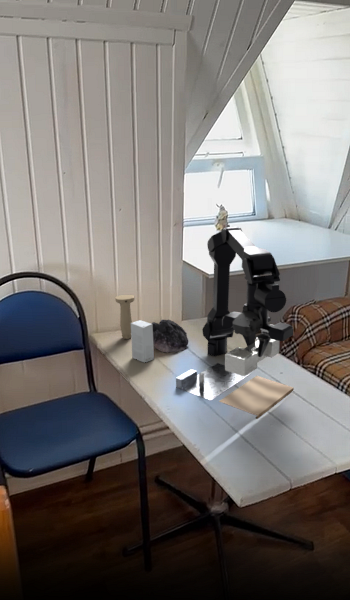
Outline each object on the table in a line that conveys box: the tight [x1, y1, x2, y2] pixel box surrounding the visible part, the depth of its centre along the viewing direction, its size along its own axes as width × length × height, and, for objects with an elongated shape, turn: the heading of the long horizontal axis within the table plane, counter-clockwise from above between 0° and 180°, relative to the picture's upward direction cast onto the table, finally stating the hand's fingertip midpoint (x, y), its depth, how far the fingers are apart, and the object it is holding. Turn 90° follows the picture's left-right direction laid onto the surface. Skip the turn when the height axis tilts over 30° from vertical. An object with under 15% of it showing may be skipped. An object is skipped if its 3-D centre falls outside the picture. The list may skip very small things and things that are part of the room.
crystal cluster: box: [151, 319, 189, 353], centre depth 185 cm, size 13×14×10 cm
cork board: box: [218, 375, 295, 420], centre depth 151 cm, size 19×12×1 cm, turn 140°
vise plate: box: [175, 362, 251, 402], centre depth 158 cm, size 20×12×6 cm, turn 140°
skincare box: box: [130, 319, 155, 363], centre depth 174 cm, size 6×4×12 cm
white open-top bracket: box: [224, 337, 281, 376], centre depth 147 cm, size 18×6×4 cm, turn 140°
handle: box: [114, 294, 135, 340], centre depth 190 cm, size 5×6×15 cm
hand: (256, 355), depth 148 cm, fingers closed on white open-top bracket, 2 cm apart
